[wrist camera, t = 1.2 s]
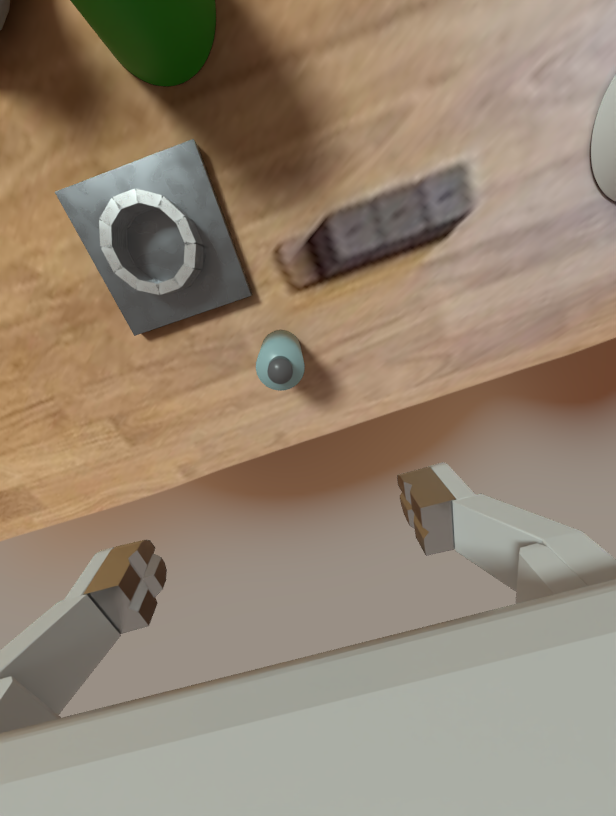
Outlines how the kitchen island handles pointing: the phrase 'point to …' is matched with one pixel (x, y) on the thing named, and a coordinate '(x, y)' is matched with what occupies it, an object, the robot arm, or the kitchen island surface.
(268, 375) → the capped teal cylinder
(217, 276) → the motor mount
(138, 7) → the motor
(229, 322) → the kitchen island surface
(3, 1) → the coffee pot
